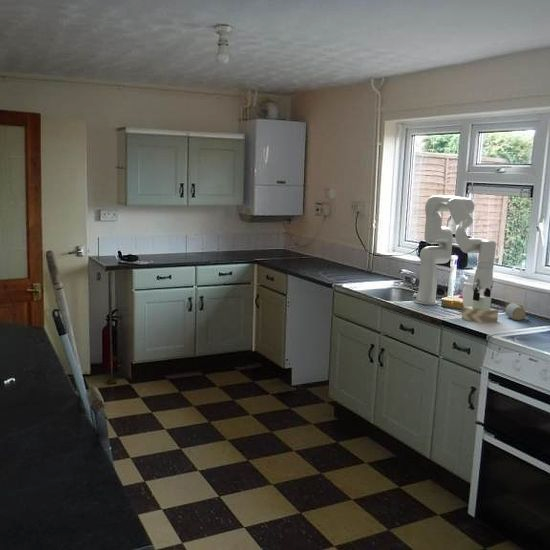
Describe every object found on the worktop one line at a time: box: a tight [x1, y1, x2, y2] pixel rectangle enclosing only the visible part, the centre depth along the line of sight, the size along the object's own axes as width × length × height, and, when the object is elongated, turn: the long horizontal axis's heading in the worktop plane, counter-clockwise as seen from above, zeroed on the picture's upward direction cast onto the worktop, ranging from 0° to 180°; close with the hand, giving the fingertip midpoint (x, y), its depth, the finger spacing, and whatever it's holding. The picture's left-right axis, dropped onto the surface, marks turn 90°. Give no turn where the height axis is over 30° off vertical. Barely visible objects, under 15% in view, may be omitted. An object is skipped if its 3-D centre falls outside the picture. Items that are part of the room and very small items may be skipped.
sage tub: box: [473, 295, 492, 310], centre depth 309 cm, size 6×6×6 cm
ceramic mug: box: [504, 302, 530, 321], centre depth 317 cm, size 11×8×8 cm
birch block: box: [461, 306, 499, 324], centre depth 310 cm, size 12×12×6 cm
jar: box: [462, 281, 484, 307], centre depth 331 cm, size 11×10×15 cm
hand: (481, 299), depth 309 cm, fingers open, 9 cm apart
